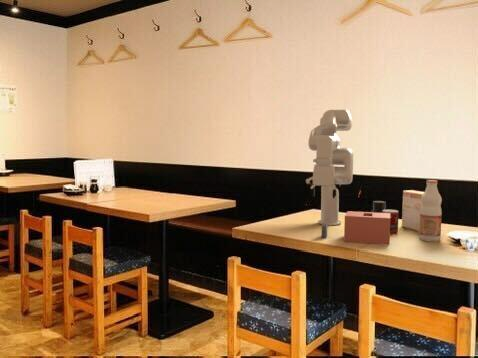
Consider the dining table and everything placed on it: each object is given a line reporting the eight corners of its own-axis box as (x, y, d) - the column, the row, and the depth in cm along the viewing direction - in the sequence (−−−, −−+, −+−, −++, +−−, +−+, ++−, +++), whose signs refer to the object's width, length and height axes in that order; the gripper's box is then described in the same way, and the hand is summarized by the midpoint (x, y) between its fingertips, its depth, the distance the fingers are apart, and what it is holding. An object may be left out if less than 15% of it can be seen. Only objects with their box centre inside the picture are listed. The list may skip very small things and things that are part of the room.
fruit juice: (414, 237, 232) (417, 179, 229) (432, 236, 234) (434, 179, 231) (426, 242, 222) (429, 181, 220) (444, 241, 225) (447, 181, 222)
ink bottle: (380, 225, 263) (381, 203, 262) (366, 222, 270) (367, 201, 269) (390, 223, 269) (391, 201, 268) (377, 220, 276) (377, 200, 275)
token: (323, 235, 236) (323, 223, 236) (327, 236, 236) (327, 223, 235) (321, 238, 230) (321, 225, 230) (325, 238, 230) (325, 226, 229)
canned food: (390, 234, 240) (390, 212, 238) (378, 231, 247) (379, 210, 246) (401, 232, 243) (402, 211, 242) (389, 230, 250) (390, 209, 249)
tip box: (346, 235, 237) (347, 211, 235) (389, 238, 231) (390, 213, 229) (344, 241, 223) (344, 215, 222) (389, 244, 217) (390, 218, 216)
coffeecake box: (431, 230, 248) (432, 193, 246) (419, 231, 246) (421, 193, 244) (412, 225, 262) (413, 189, 261) (401, 226, 260) (402, 190, 258)
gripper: (304, 161, 229) (304, 197, 230) (341, 162, 224) (341, 199, 225) (307, 161, 236) (306, 195, 238) (343, 161, 231) (342, 197, 232)
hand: (323, 197), depth 231 cm, fingers open, 9 cm apart
